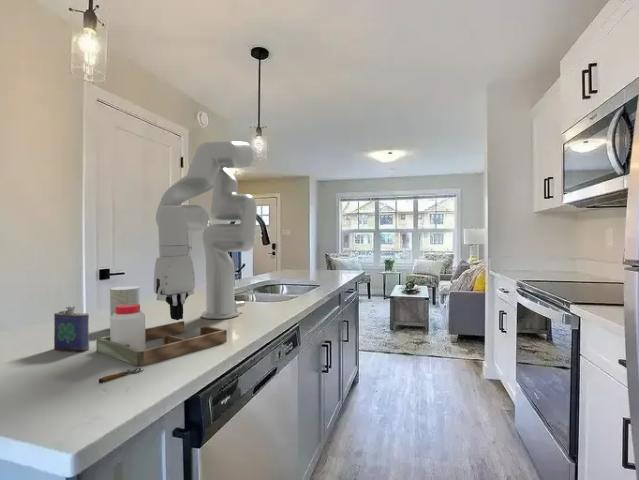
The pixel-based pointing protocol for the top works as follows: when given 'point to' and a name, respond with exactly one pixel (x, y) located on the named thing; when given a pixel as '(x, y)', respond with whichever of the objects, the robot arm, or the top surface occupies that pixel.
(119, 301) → the cup
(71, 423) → the top surface
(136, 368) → the can opener
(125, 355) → the wooden frame
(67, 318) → the flask
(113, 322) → the pill bottle
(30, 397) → the top surface
